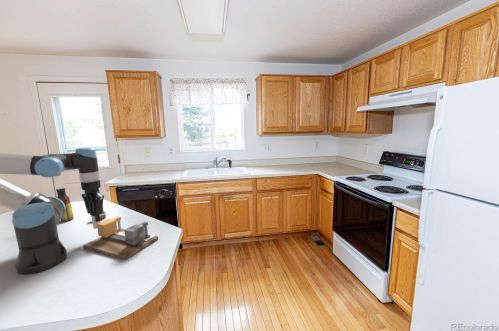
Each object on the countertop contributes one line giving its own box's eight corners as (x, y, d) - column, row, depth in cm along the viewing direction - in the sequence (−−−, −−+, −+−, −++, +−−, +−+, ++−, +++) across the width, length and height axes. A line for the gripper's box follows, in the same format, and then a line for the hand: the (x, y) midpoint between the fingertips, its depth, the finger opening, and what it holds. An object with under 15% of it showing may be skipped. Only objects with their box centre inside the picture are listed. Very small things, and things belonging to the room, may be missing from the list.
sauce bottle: (72, 217, 136) (67, 185, 133) (75, 219, 132) (69, 187, 129) (58, 220, 131) (52, 188, 128) (61, 223, 127) (55, 190, 124)
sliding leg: (105, 238, 102) (104, 225, 101) (98, 236, 104) (96, 223, 103) (124, 229, 111) (122, 217, 110) (117, 228, 113) (115, 216, 112)
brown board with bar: (125, 259, 90) (122, 238, 88) (84, 248, 99) (80, 228, 98) (158, 239, 106) (156, 221, 105) (120, 230, 116) (118, 214, 114)
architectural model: (106, 219, 133) (105, 207, 132) (93, 223, 127) (91, 211, 126) (104, 217, 135) (103, 206, 134) (91, 221, 130) (89, 209, 128)
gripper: (107, 179, 105) (113, 226, 109) (89, 177, 110) (96, 222, 114) (91, 183, 98) (98, 232, 102) (72, 181, 103) (80, 228, 107)
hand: (97, 227), depth 108 cm, fingers closed
